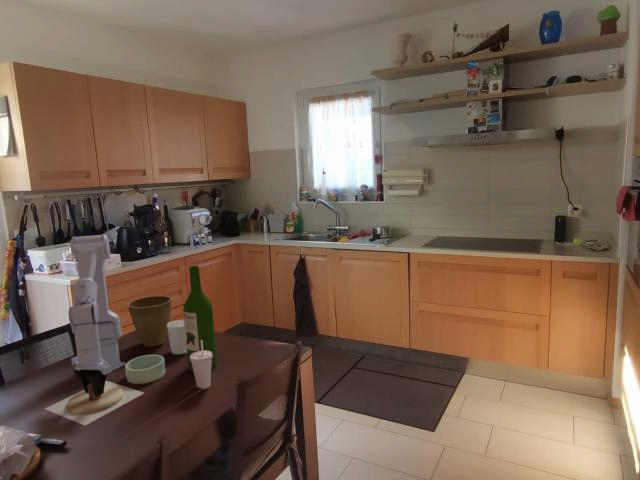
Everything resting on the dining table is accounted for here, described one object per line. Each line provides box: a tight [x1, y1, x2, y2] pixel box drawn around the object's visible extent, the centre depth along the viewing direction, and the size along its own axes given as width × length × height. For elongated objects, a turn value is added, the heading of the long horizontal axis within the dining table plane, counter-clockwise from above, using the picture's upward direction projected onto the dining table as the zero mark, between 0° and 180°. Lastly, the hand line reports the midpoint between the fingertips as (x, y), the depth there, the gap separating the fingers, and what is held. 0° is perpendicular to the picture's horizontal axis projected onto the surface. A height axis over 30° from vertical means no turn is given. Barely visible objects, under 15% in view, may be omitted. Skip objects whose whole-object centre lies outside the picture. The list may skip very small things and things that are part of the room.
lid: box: [66, 383, 123, 415], centre depth 125 cm, size 14×14×5 cm
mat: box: [44, 380, 145, 426], centre depth 125 cm, size 18×18×1 cm
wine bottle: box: [182, 265, 218, 372], centre depth 143 cm, size 9×9×32 cm
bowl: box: [124, 354, 166, 385], centre depth 139 cm, size 11×11×5 cm
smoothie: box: [190, 340, 213, 390], centre depth 131 cm, size 6×6×14 cm
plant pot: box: [127, 295, 172, 348], centre depth 165 cm, size 15×15×16 cm
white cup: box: [167, 319, 187, 355], centre depth 158 cm, size 8×8×10 cm
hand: (94, 393), depth 125 cm, fingers open, 4 cm apart
